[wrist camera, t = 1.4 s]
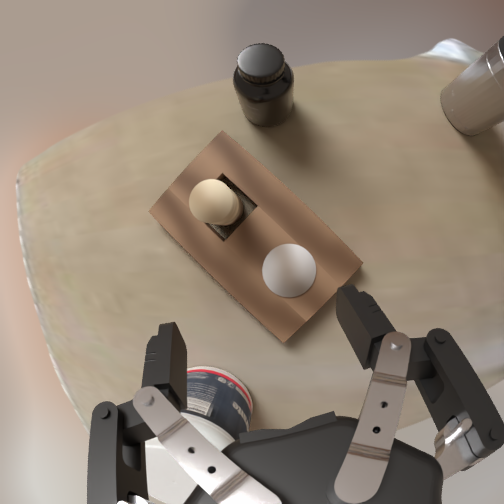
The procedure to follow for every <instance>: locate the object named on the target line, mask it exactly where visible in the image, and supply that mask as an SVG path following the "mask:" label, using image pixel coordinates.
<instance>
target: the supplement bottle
mask: <svg viewBox="0 0 504 504" xmlns="http://www.w3.org/2000/svg"><path fill="white" fill-rule="evenodd" d="M237 60H238V61H237V67H236V69H235V71H234V74H233V84H234V88H235V90H236V93H237V96H238V99H239V102H240V104H241V107H242V110H243V113H244V115H245V116H246V118H247V119H248V120H249V121H251V122H252V123H254V124H256V125H258V126H263V127H271V126H276V125H278V124H280V123H282V122H284V121H285V120H286V119H287V118H288V116H289V115H290V113H291V110H292V104H293V87H294V75H293V71H292V69H291V67H290V66H289V64H288V63H287V62H286V61H285V59H284V55H283V54H282V52H281V51H280V50H279V49H277V48H276V47H274V46H272V45H269V44H264V43H262V44H260V43H259V44H254V45H250V46H248V47H246V48H245V49H243V51H241V52H240V54H239V55H238V58H237Z"/></svg>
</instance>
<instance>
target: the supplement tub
mask: <svg viewBox="0 0 504 504" xmlns="http://www.w3.org/2000/svg"><path fill="white" fill-rule="evenodd" d="M252 410H253V405H252V400H251V396H250V394H249V392H248V390H247V388H246V387H245V386H244V384H243V383H242V382H241V381H240V380H239V379H237V378H236V377H235V376H233V375H232V374H230V373H228V372H226V371H224V370H221V369H218V368H215V367H208V366H198V367H192V368H189V369H187V409H183V410H181V415H182V416H183V417H184V418H186V419H187V420H188V421H189V422H190V423H191V424H192V425H193V426H194V427H195V428H196V429H197V430H198V431H199V432H200V433H201V434H202V435H203V436H204V437H205V438H206V439H207V440H208V441H210V442H211V443H212V444H213V445H214V446H215V447H216V448H217V449H218V450H219V451H220V452H221V451H222V450H223V449H224V448H225V447H226V446H227V445H229V444H230V443H232V442H234V441H236V440H238V439H240V438H239V433H244V432H249V426H250V420H251V415H252ZM145 451H146V472H147V486H148V494H149V495H150V496H152V497H154V498H155V499H157V500H160V501H161V502H164V503H166V504H183V503H184V502H185V501H186V499H187V498H188V497H189V495H190V494H191V493H192V491H193V490H194V488H195V487H196V486H197V484H198V483H197V482H196V481H195V480H194V479H193V478H192V477H191V476H190V475H189V474H188V473H187V472H186V471H185V470H184V469H183V468H182V467H181V466H180V465H179V464H178V462H177V461H176V460H175V459H174V458H173V457H172V456H171V455H170V453H169V452H168V451H167V450H166V449H165V448H164V447H163V445H162V444H161V443H160V442H159V440H158V437H155V438H153V439H150V440H147V441H145Z"/></svg>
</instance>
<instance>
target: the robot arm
mask: <svg viewBox="0 0 504 504" xmlns="http://www.w3.org/2000/svg"><path fill="white" fill-rule="evenodd" d="M441 104H442V107H443V110H444V112H445V114H446V116H447V118H448V119H449V121H450V122H451V123H452V125H453V126H454V127H455V128H456V129H458V130H459V131H460V132H462V133H464V134H466V135H469V136H473V135H476V134H478V133H480V132H482V131H484V130H486V129H489V128H491V127H493V126H495V125H497V124H499V123H501V122H503V121H504V36H503V37H502V38H501V39H500V40H499V41H498V42H496V43H495V44H494V45H493V46H492V47H491V48H490V49H489V50H488V51H486V52H485V53H484V54H483V55H482V56H481V57H480V58H478V59H477V60H476V61H475V62H474V63H473V64H472V65H470V66H469V67H468V68H467V69H466V70H465V71H464V72H462V73H461V74H460V75H459V76H458V77H457V78H455V79H454V80H453V81H452V82H451V83H450V84H449V85H447V86H446V87H445V88H444V89H443V91H442V93H441ZM336 314H337V318H338V321H339V323H340V325H341V327H342V329H343V331H344V332H345V334H346V336H347V338H348V340H349V342H350V344H351V346H352V348H353V350H354V352H355V353H356V355H357V357H358V359H359V361H360V363H361V365H362V367H363V369H364V370H365V369H368V368H370V367H371V369H372V370H373V374H372V378H371V381H370V384H369V388H368V391H367V394H366V397H365V400H364V403H363V406H362V409H361V412H360V415H359V418H358V419H356V418H352V417H346V416H335V413H334V411H332V412H329V413H326V414H322V415H319V416H315V417H312V418H310V419H308V420H306V421H304V422H302V423H300V424H298V425H296V426H294V427H292V428H290V429H261V430H255V431H250V432H244V433H239V438H240V439H238V440H236V441H234V442H232V443H230V444H229V445H227V446H226V447H225V448H224V449H223V450H222V451H221V452H220V451H219V450H218V449H217V448H216V447H215V446H214V445H213V444H212V443H211V442H210V441H208V440H207V439H206V438H205V437H204V436H203V435H202V434H201V433H200V432H199V431H198V430H197V429H196V428H195V427H194V426H193V425H192V424H191V423H190V422H189V421H188V420H187V419H186V418H184V417H183V416H182V415H181V410H183V409H187V349H186V345H185V342H184V340H183V338H182V336H181V333H180V331H179V329H178V327H177V325H176V323H175V322H171V323H165V324H160V325H159V331H158V335H157V336H152V337H151V339H150V340H149V342H148V344H147V348H146V355H145V363H144V371H143V379H142V387H141V389H140V390H138V391H137V392H136V394H135V395H134V397H133V399H132V400H131V401H128V402H126V403H123V404H120V405H118V406H116V405H115V404H113V403H112V402H108V401H106V402H102V403H100V404H98V405H97V406H96V407H95V408H94V410H93V413H92V420H91V430H90V440H89V454H88V476H87V504H154V503H153V502H151V501H149V498H148V486H147V472H146V451H145V441H147V440H150V439H153V438H155V437H158V440H159V442H160V443H161V444H162V445H163V447H164V448H165V449H166V450H167V451H168V452H169V453H170V455H171V456H172V457H173V458H174V459H175V460H176V461H177V462H178V464H179V465H180V466H181V467H182V468H183V469H184V470H185V471H186V472H187V473H188V474H189V475H190V476H191V477H192V478H193V479H194V480H195V481H196V482H197V483H198V484H197V486H196V487H195V488H194V490H193V491H192V493H191V494H190V495H189V497H188V498H187V499H186V501H185V502H184V503H183V504H442V501H441V494H442V485H443V480H445V479H447V478H448V477H450V476H452V475H454V474H455V473H457V472H459V471H465V470H467V469H469V468H471V467H472V466H474V465H475V464H477V463H479V462H480V461H482V460H483V459H485V458H486V457H488V456H489V455H490V454H492V453H493V452H495V451H496V450H497V449H499V448H500V447H501V446H502V445H503V444H504V423H503V421H502V419H501V417H500V415H499V413H498V411H497V409H496V407H495V405H494V404H493V402H492V400H491V398H490V396H489V395H488V393H487V391H486V389H485V388H484V386H483V384H482V383H481V381H480V379H479V378H478V376H477V374H476V373H475V371H474V369H473V368H472V366H471V365H470V363H469V362H468V360H467V358H466V357H465V355H464V354H463V352H462V351H461V349H460V348H459V346H458V345H457V343H456V342H455V340H454V339H453V337H452V336H451V335H450V333H449V332H447V331H446V330H444V329H440V328H436V329H432V330H431V331H429V333H428V334H427V337H422V338H409V337H408V336H407V335H405V334H404V333H401V332H397V331H396V330H395V329H394V327H393V326H392V324H391V323H390V321H389V320H388V318H387V317H386V315H385V314H384V313H383V311H381V308H380V307H379V306H378V305H377V303H376V301H375V300H374V299H373V297H372V296H371V295H369V294H367V293H366V292H364V291H363V292H358V290H357V289H356V288H355V286H354V285H353V284H349V285H345V286H342V287H338V289H337V301H336ZM409 380H414V381H415V383H416V385H417V387H418V389H419V391H420V393H421V395H422V397H423V399H424V401H425V404H426V406H427V408H428V410H429V412H430V414H431V416H432V418H433V421H434V423H435V425H436V427H437V429H438V432H439V433H438V434H437V435H436V437H435V441H434V445H435V449H436V453H435V457H433V456H431V455H429V454H427V453H425V452H423V451H421V450H418V449H416V448H414V447H412V446H410V445H408V444H406V443H404V442H402V441H400V440H397V439H396V438H394V436H395V433H396V430H397V426H398V422H399V418H400V414H401V410H402V406H403V401H404V397H405V392H406V387H407V381H409Z"/></svg>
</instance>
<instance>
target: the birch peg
mask: <svg viewBox="0 0 504 504" xmlns="http://www.w3.org/2000/svg"><path fill="white" fill-rule="evenodd" d="M189 206H190V210H191V212H192V214H193V215H194V216H195V218H197V219H198V220H199V221H201V222H204V223H210V224H217V225H223V226H229V225H233V224H235V223H236V222H238V221H239V219H240V218H241V216H242V214H243V203H242V201H241V199H240V198H239V197H238V196H237V195H236V194H235V193H234V192H233V191H232V190H231V189H230V188H229V187H228V186H227V185H226V184H224V183H223V182H221V181H219V180H215V179H208V180H204V181H202V182H200V183H198V184H197V185H196V186H195V187H194V188H193V190H192V192H191V194H190V198H189Z"/></svg>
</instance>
